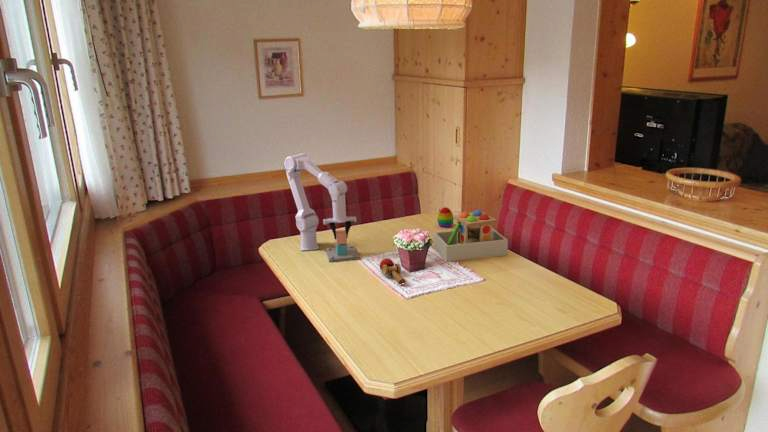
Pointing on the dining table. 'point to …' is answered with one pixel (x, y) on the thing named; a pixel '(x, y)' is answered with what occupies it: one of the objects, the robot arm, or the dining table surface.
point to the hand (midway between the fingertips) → (340, 238)
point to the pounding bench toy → (470, 220)
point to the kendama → (391, 269)
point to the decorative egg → (445, 218)
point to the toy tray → (469, 247)
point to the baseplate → (334, 257)
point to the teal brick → (341, 249)
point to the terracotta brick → (341, 237)
